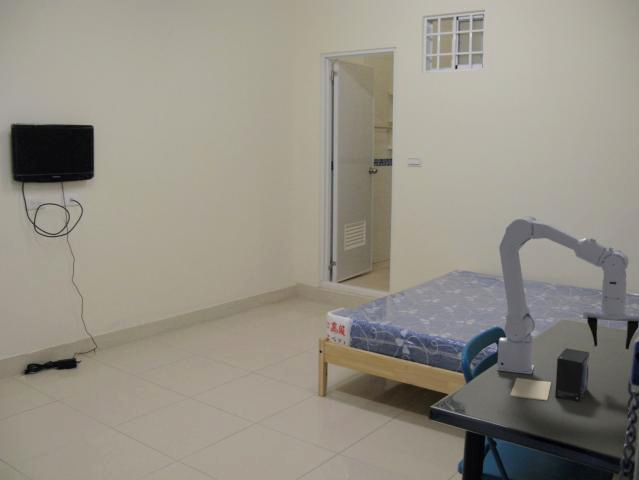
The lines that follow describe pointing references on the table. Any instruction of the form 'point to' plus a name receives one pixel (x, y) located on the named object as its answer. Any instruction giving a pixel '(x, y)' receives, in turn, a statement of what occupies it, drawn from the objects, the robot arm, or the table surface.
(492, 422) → the table surface
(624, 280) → the robot arm
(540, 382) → the mat
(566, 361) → the small box
